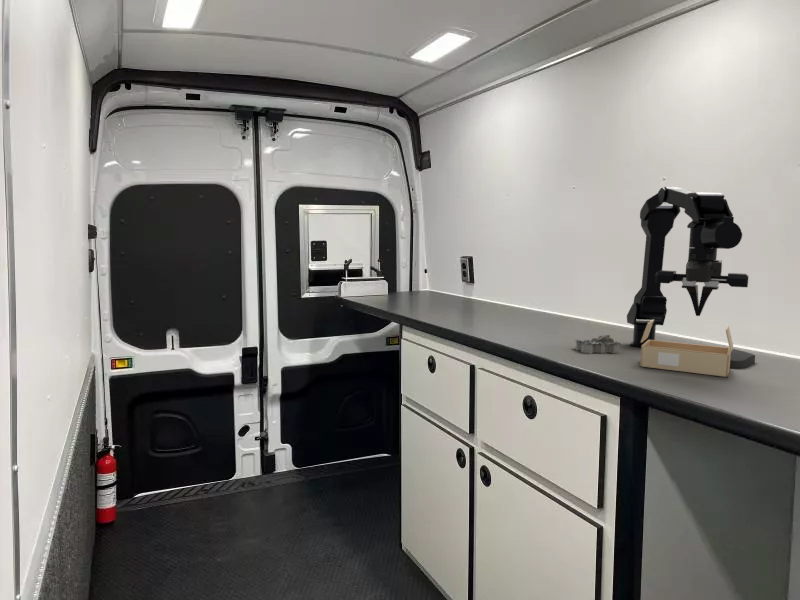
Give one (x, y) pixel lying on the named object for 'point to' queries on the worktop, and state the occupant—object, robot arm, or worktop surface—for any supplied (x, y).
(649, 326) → the flap
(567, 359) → the worktop surface
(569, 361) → the worktop surface
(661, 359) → the carton
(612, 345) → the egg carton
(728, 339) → the flap
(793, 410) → the worktop surface
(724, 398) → the worktop surface
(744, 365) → the media streaming box
